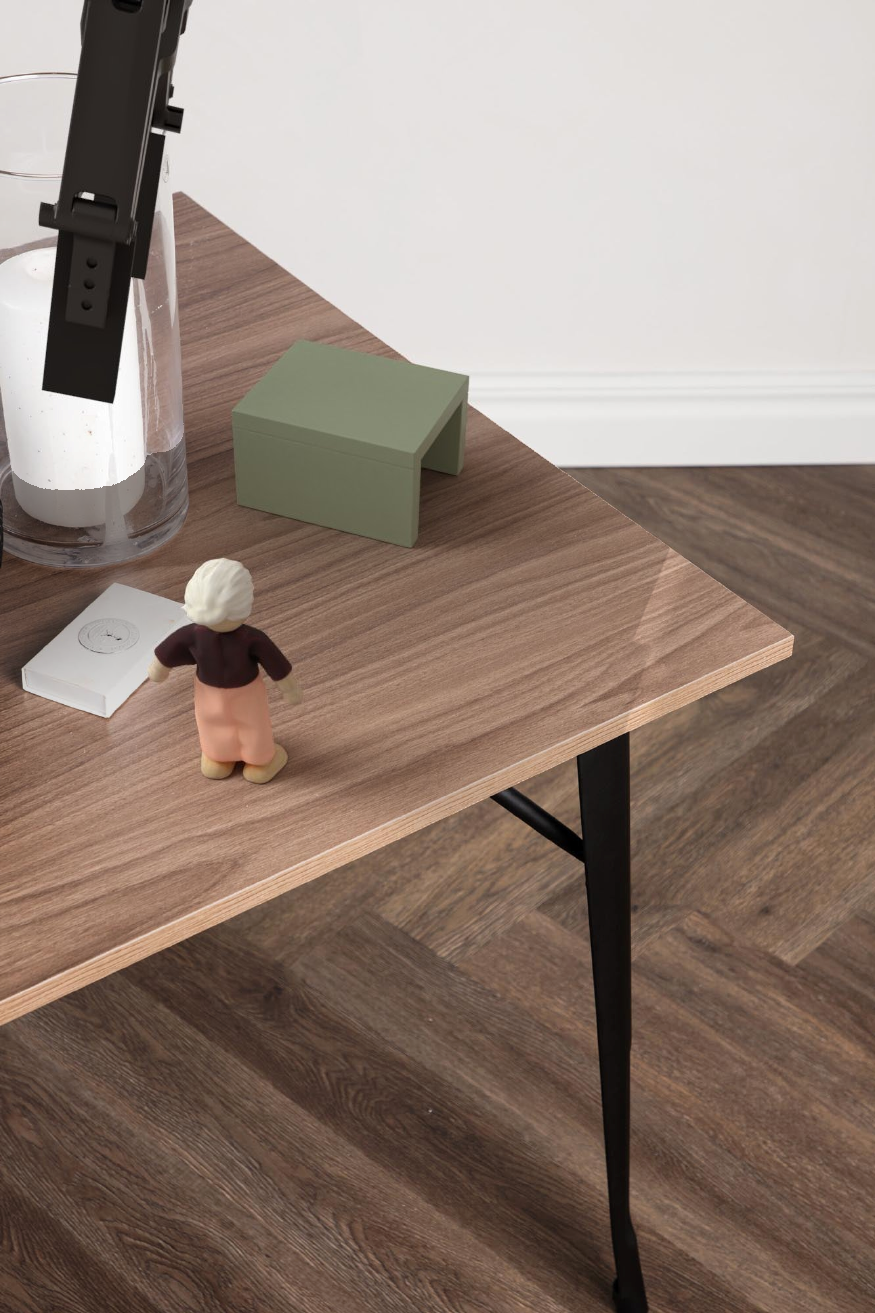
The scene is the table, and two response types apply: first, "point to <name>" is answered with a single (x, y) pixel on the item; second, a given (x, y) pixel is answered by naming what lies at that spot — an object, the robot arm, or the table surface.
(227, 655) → the grandmother figurine
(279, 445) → the shelf
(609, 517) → the table surface
